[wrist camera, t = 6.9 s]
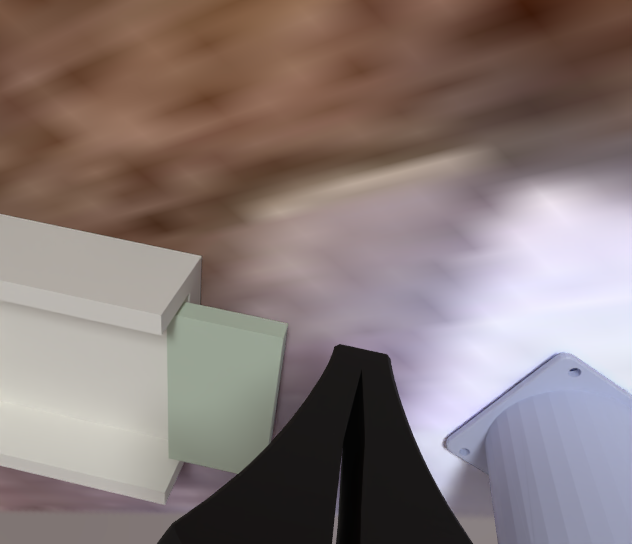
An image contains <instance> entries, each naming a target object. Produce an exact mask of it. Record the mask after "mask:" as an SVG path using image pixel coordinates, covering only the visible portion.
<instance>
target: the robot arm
mask: <svg viewBox="0 0 632 544" xmlns="http://www.w3.org/2000/svg"><path fill="white" fill-rule="evenodd" d="M573 368H578V369H577V370H575V371H569V370H570V369H573ZM446 447H447V449H448V450H449V451H450V452H452V453H453V454H455V455H457V456H458V457H460V458H462V459H463V460H465V461H466V462H468V463H470V464H471V465H473V466H475V467H476V468H478V469H480V470H481V471H483V472H485V473H486V474H488V475H489V480H490V488H491V495H492V502H493V510H494V517H495V524H496V532H497V538H498V544H632V395H631V394H630V393H628V392H627V391H625V390H624V389H622V388H621V387H619V386H618V385H616V384H615V383H614V382H612V381H611V380H609V379H608V378H606V377H605V376H603V375H602V374H600V373H599V372H597V371H596V370H595V369H593V368H592V367H590V366H589V365H587V364H586V363H584V362H583V361H581V360H580V359H579V358H577V357H576V356H574V355H572V354H570V353H561V354H558V355H556V356H555V357H553V358H552V359H551V360H550V361H548V362H547V363H546V364H544V365H543V366H542V367H540V368H539V369H538V370H536V371H535V372H534V373H532V374H531V375H530V376H528V377H527V378H526V379H524V380H523V381H522V382H521V383H519V384H518V385H517V386H515V387H514V388H513V389H511V390H510V391H509V392H507V393H506V394H505V395H503V396H502V397H501V398H499V399H498V400H497V401H496V402H494V403H493V404H492V405H490V406H489V407H488V408H486V409H485V410H484V411H482V412H481V413H480V414H478V415H477V416H476V417H474V418H473V419H472V420H470V421H469V422H468V423H467V424H465V425H464V426H463V427H461V428H460V429H459V430H457V431H456V432H455V433H453V434H452V435H451V436H449V437H448V438H447V440H446ZM342 448H343V449H342ZM341 456H342V465H341V481H340V498H339V515H338V529H337V540H336V544H473V543H472V541H471V540H470V539H469V537H468V536H467V534H466V532H465V531H464V529H463V528H462V526H461V525H460V523H459V522H458V520H457V518H456V517H455V515H454V514H453V512H452V511H451V509H450V508H449V506H448V504H447V502H446V501H445V499H444V497H443V495H442V494H441V492H440V490H439V488H438V487H437V485H436V483H435V481H434V479H433V477H432V475H431V473H430V471H429V469H428V467H427V465H426V463H425V461H424V459H423V457H422V455H421V452H420V450H419V448H418V445H417V443H416V441H415V438H414V436H413V433H412V431H411V428H410V426H409V423H408V420H407V418H406V415H405V412H404V409H403V406H402V403H401V400H400V397H399V394H398V390H397V387H396V383H395V379H394V375H393V371H392V366H391V359H390V358H389V356H388V355H387V354H383V353H378V352H373V351H369V350H364V349H360V348H355V347H350V346H346V345H341V344H339V345H337V346H335V347H334V350H333V353H332V356H331V358H330V361H329V363H328V365H327V367H326V369H325V370H324V372H323V374H322V376H321V378H320V379H319V381H318V382H317V384H316V385H315V387H314V388H313V390H312V391H311V393H310V395H309V396H308V398H307V399H306V400H305V402H304V403H303V404H302V406H301V407H300V408H299V410H298V411H297V412H296V413H295V415H294V416H293V417H292V419H291V420H290V421H289V422H288V424H287V425H286V426H285V427H284V428H283V429H282V431H281V432H280V433H279V434H278V435H277V436H276V437H275V438H274V439H273V440H272V442H271V443H270V444H269V445H268V446H267V447H266V448H265V449H264V450H263V451H262V452H261V453H260V454H259V455H258V456H257V457H256V458H255V459H254V460H253V461H252V462H251V463H250V464H248V465H247V466H246V467H245V468H244V469H243V470H242V471H241V472H240V473H239V474H237V475H236V476H235V477H234V478H232V479H231V480H230V481H229V482H228V483H226V484H225V485H224V486H223V487H222V488H220V489H219V490H218V491H217V492H215V493H214V494H213V495H212V496H210V497H209V498H208V499H206V500H205V501H204V502H202V503H201V504H199V505H198V506H197V507H195V508H194V509H192V510H191V511H189V512H188V513H187V514H185V515H184V516H182V517H181V518H179V519H178V520H177V521H175V522H174V523H172V525H171V526H170V527H169V528H168V530H167V531H166V532H165V534H164V535H163V536H162V538H161V539H160V540H159V542H158V543H157V544H332V537H333V527H334V517H335V508H336V498H337V489H338V481H339V472H340V464H341Z"/></svg>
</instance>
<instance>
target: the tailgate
mask: <svg viewBox="0 0 632 544" xmlns="http://www.w3.org/2000/svg"><path fill="white" fill-rule="evenodd" d="M287 329H288V323H283V322H279V321H274V320H269V319H264V318H260V317H255V316H250V315H245V314H241V313H236V312H231V311H226V310H222V309H217V308H212V307H207V306H203V305H198V304H193V303H188V302H183V303H182V305H181V306H180V308H179V310H178V311H177V313H176V314H175V316H174V317H173V319H172V320H171V322H170V323H169V325H168V326H167V378H168V451H169V458H170V459H174V460H179V461H183V462H188V463H192V464H196V465H201V466H205V467H210V468H214V469H218V470H223V471H227V472H232V473H236V474H239V473H240V472H241V471H242V470H243V469H244V468H245V467H246V466H247V465H248V464H250V463H251V462H252V461H253V460H254V459H255V458H256V457H257V456H258V455H259V454H260V453H261V452H262V451H263V450H264V449H265V448H266V447H267V446H268V445H269V444H270V443H271V440H272V433H273V426H274V419H275V412H276V405H277V398H278V392H279V385H280V378H281V371H282V364H283V357H284V350H285V343H286V336H287Z"/></svg>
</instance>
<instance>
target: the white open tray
mask: <svg viewBox="0 0 632 544" xmlns="http://www.w3.org/2000/svg"><path fill="white" fill-rule="evenodd" d="M201 265H202V256H198V255H194V254H189V253H184V252H179V251H175V250H170V249H165V248H160V247H155V246H151V245H146V244H141V243H136V242H132V241H127V240H122V239H117V238H112V237H108V236H103V235H98V234H93V233H89V232H84V231H79V230H74V229H70V228H65V227H60V226H55V225H50V224H46V223H41V222H36V221H31V220H27V219H22V218H17V217H12V216H7V215H3V214H0V465H1V466H5V467H9V468H13V469H17V470H21V471H26V472H30V473H34V474H38V475H42V476H46V477H51V478H55V479H59V480H63V481H67V482H71V483H76V484H80V485H84V486H88V487H92V488H97V489H101V490H105V491H109V492H113V493H117V494H122V495H126V496H130V497H134V498H138V499H142V500H147V501H151V502H155V503H159V504H163V505H165V504H166V502H167V499H168V497H169V495H170V493H171V491H172V488H173V486H174V484H175V482H176V479H177V477H178V475H179V473H180V471H181V468H182V466H183V464H184V462H183V461H179V460H174V459H170V458H169V451H168V378H167V326H168V325H169V323H170V322H171V320H172V319H173V317H174V316H175V314H176V313H177V311H178V310H179V308H180V306H181V305H182V303H183V302H188V303H193V304H198V305H200V299H201Z"/></svg>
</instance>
